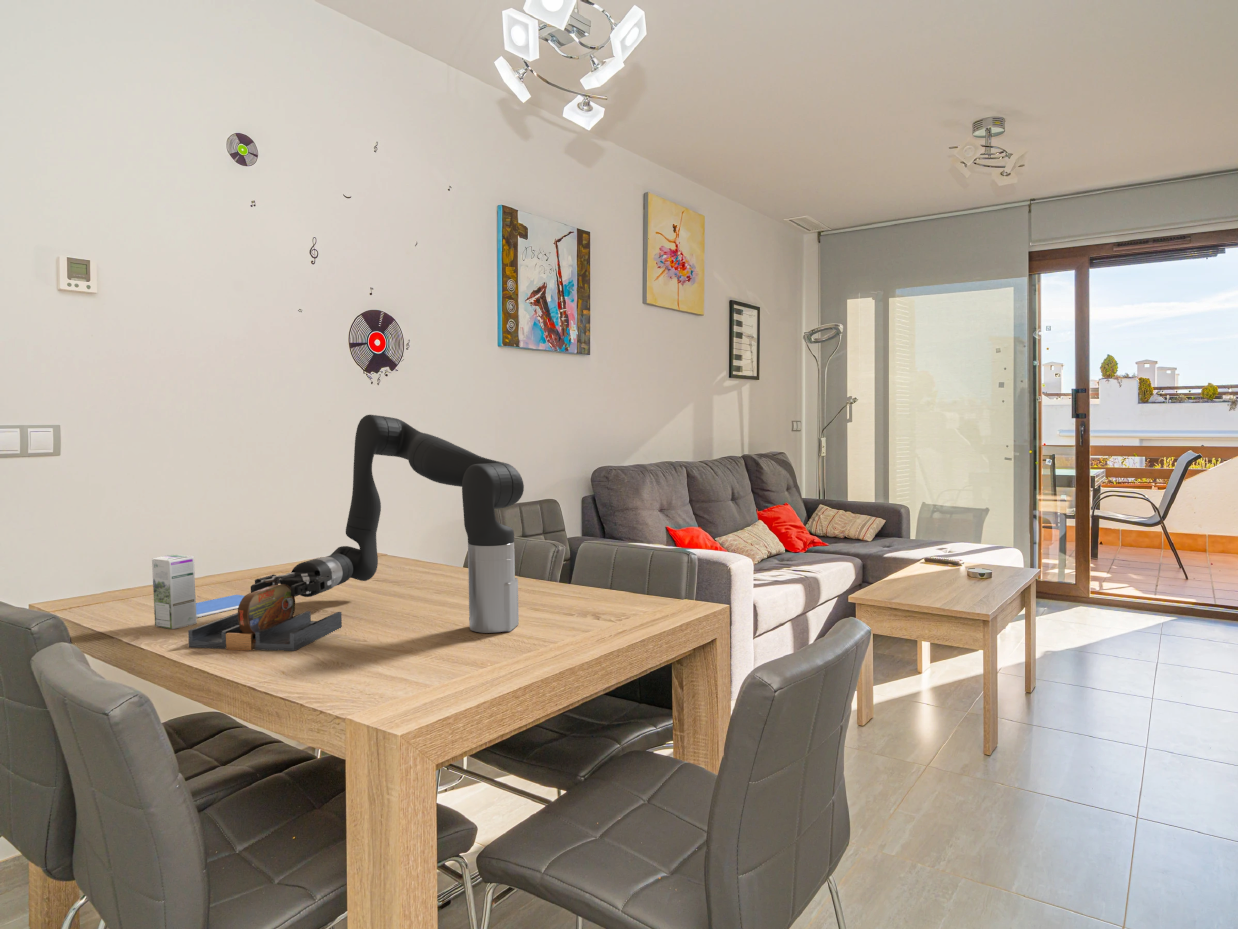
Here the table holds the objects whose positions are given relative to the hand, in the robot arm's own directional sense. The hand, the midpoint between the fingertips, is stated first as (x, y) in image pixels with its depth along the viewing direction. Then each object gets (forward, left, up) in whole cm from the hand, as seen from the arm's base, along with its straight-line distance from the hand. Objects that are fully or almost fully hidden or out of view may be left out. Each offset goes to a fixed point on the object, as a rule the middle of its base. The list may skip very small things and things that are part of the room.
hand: (272, 591), depth 149 cm
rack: (0, +2, -9) cm, 9 cm away
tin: (0, +1, -8) cm, 8 cm away
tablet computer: (+28, -22, -9) cm, 37 cm away
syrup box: (+25, -5, -9) cm, 27 cm away
